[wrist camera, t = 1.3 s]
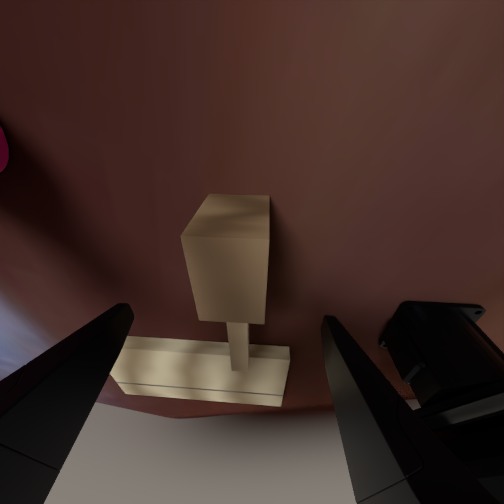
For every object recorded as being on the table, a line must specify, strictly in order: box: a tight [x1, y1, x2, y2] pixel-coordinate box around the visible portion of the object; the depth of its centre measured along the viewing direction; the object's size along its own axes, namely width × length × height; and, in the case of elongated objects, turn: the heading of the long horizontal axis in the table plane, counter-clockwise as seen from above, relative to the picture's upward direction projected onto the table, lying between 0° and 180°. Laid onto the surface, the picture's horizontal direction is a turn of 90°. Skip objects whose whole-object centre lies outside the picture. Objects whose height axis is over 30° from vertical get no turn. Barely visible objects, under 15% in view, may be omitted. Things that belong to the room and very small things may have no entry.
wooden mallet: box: [180, 194, 270, 372], centre depth 16 cm, size 4×16×6 cm, turn 0°
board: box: [110, 336, 290, 407], centre depth 27 cm, size 22×12×2 cm, turn 90°
